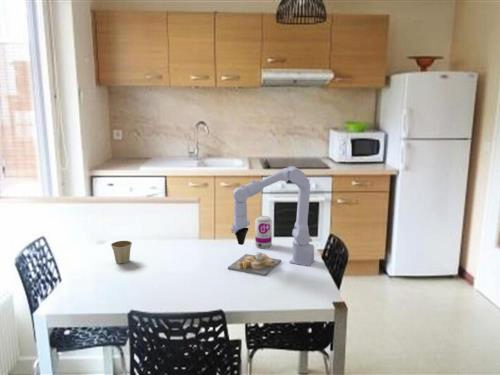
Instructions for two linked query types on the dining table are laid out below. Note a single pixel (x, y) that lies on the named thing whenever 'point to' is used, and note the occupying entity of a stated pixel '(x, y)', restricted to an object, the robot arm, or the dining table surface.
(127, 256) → the flower pot
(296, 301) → the dining table surface
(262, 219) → the supplement can
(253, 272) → the base plate
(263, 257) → the wooden beam assembly
